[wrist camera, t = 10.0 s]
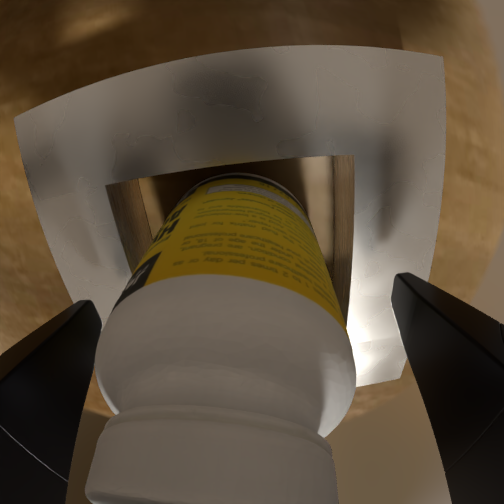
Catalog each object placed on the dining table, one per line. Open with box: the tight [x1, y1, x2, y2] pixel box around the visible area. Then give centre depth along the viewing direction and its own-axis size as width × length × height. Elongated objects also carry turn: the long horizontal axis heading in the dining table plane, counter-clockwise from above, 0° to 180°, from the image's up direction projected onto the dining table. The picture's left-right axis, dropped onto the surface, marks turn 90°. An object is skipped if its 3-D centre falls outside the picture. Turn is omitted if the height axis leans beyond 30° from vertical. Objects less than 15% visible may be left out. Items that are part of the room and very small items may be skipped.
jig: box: [14, 45, 446, 387], centre depth 11 cm, size 13×13×2 cm
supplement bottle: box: [85, 173, 356, 504], centre depth 7 cm, size 5×5×10 cm
